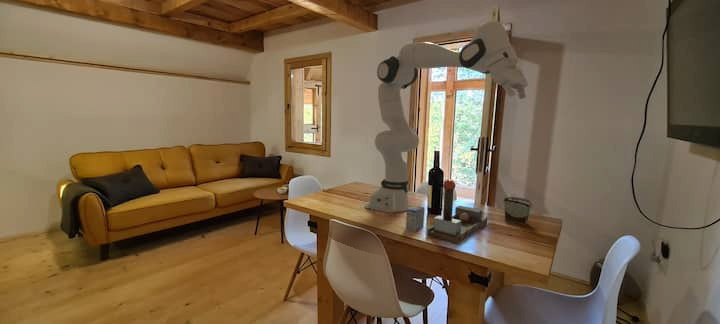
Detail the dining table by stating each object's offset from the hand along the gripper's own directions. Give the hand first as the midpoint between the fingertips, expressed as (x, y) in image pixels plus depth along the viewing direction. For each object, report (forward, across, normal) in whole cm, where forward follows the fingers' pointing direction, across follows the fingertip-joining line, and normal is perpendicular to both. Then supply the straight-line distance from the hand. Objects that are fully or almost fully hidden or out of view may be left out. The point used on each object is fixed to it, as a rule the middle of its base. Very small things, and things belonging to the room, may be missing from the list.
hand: (517, 97), depth 107 cm
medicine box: (+34, +12, -51) cm, 63 cm away
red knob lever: (+38, +11, -37) cm, 55 cm away
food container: (+43, -31, -29) cm, 61 cm away
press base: (+40, 0, -39) cm, 56 cm away
